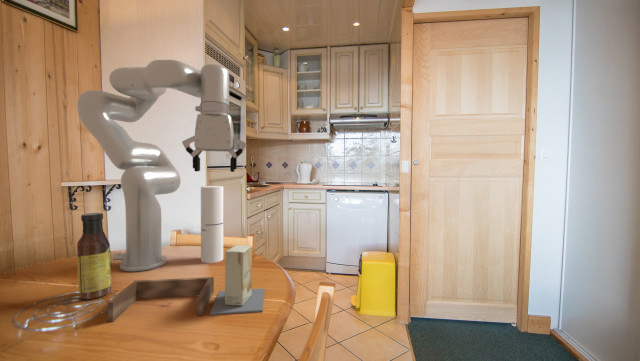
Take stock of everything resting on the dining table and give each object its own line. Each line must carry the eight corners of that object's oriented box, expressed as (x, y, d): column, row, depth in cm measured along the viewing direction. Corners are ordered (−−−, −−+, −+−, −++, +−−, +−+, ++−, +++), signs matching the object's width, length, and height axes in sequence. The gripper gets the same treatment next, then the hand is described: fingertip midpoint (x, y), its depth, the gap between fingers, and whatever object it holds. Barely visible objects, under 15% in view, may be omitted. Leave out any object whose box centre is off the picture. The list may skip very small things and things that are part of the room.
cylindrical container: (218, 263, 91) (218, 187, 90) (197, 262, 91) (196, 187, 90) (226, 256, 98) (226, 186, 97) (206, 256, 98) (206, 185, 97)
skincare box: (242, 306, 62) (243, 252, 61) (224, 305, 62) (224, 251, 61) (252, 293, 68) (252, 244, 67) (235, 292, 68) (235, 244, 68)
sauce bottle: (117, 291, 69) (116, 212, 68) (89, 302, 63) (88, 216, 62) (99, 287, 71) (98, 211, 70) (71, 298, 65) (69, 214, 64)
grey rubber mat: (209, 315, 59) (209, 313, 59) (219, 292, 69) (219, 290, 69) (262, 311, 60) (262, 309, 60) (264, 290, 71) (264, 288, 71)
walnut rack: (107, 321, 55) (107, 302, 55) (135, 297, 66) (134, 280, 66) (202, 315, 58) (202, 297, 58) (213, 292, 69) (213, 277, 69)
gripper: (178, 106, 73) (178, 171, 74) (245, 110, 76) (244, 172, 77) (186, 112, 81) (187, 171, 81) (247, 115, 83) (247, 171, 84)
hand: (215, 171), depth 79 cm, fingers open, 9 cm apart
